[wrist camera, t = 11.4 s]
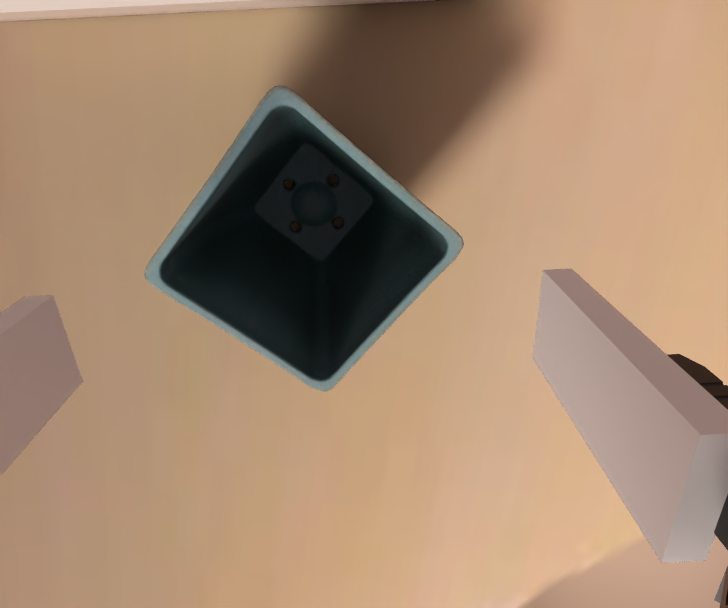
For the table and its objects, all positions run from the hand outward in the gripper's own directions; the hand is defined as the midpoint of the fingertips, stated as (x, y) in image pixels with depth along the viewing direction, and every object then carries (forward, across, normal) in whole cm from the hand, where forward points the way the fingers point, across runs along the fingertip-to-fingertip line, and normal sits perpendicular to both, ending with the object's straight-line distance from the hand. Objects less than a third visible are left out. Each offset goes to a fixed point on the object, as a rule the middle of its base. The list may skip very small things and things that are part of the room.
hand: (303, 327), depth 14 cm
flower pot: (+14, -1, 0) cm, 14 cm away
